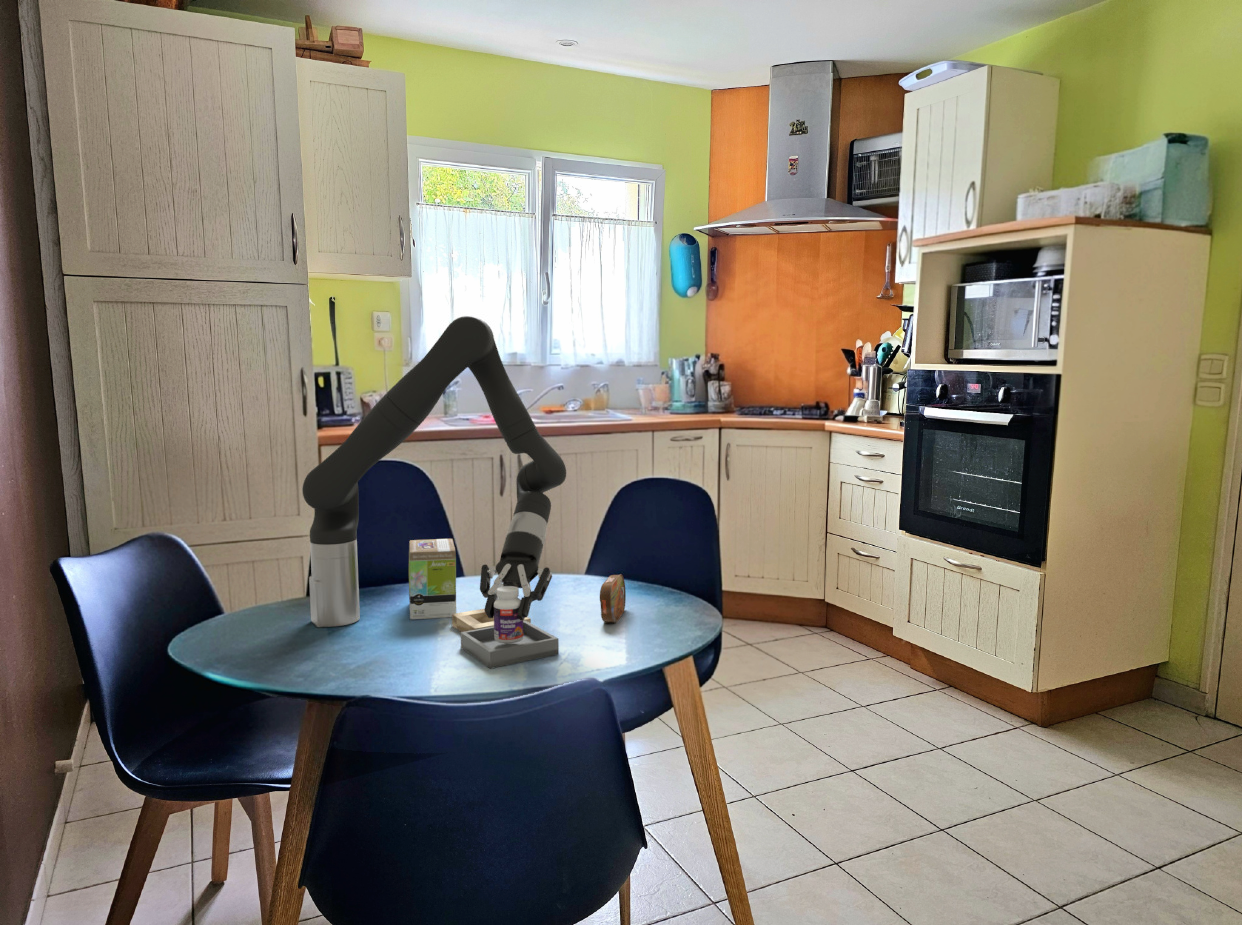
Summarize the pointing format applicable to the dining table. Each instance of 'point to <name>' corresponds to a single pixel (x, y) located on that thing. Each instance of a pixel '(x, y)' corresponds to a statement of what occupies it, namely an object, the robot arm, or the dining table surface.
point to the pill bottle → (507, 616)
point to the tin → (612, 598)
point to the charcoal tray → (509, 646)
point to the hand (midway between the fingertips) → (505, 616)
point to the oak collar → (474, 620)
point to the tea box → (432, 578)
